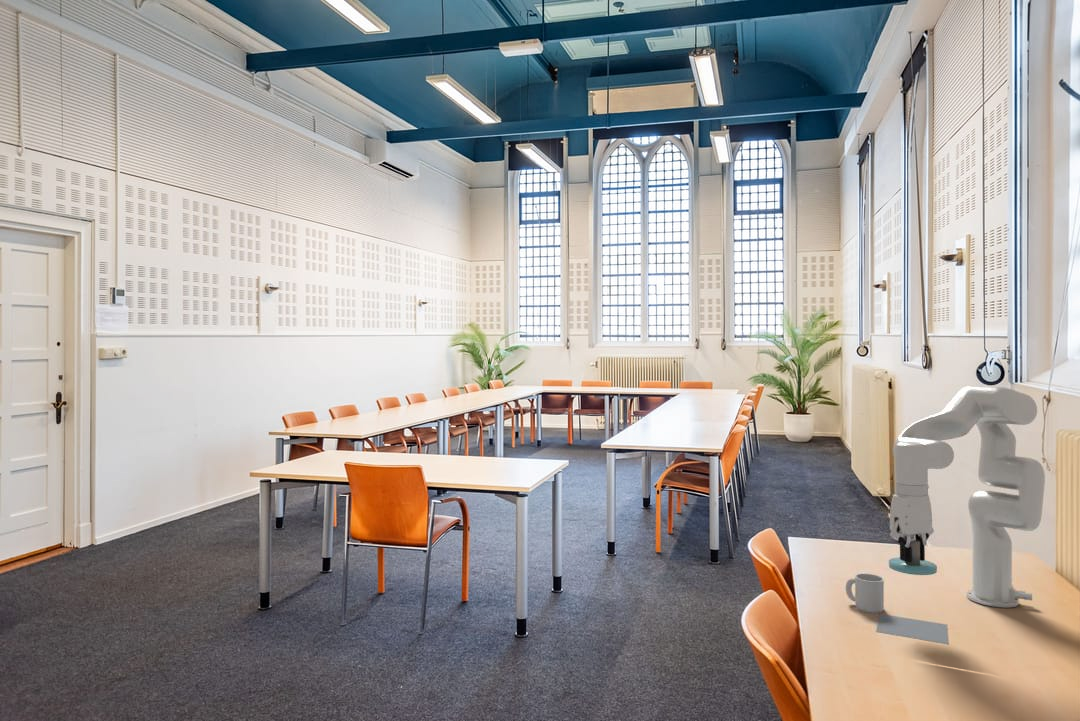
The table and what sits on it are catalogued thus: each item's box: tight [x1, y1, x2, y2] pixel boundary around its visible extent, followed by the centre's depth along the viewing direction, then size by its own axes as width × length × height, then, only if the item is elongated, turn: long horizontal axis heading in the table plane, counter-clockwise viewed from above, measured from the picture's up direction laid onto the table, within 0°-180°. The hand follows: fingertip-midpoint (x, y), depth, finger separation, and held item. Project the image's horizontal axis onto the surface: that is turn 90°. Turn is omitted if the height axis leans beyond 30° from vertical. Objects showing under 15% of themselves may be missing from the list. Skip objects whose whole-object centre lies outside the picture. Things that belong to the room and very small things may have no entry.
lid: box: [888, 538, 938, 576], centre depth 177 cm, size 11×11×7 cm
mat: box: [875, 613, 950, 645], centre depth 177 cm, size 16×14×1 cm
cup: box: [845, 573, 885, 614], centre depth 192 cm, size 7×10×9 cm
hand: (912, 559), depth 177 cm, fingers closed on lid, 3 cm apart
